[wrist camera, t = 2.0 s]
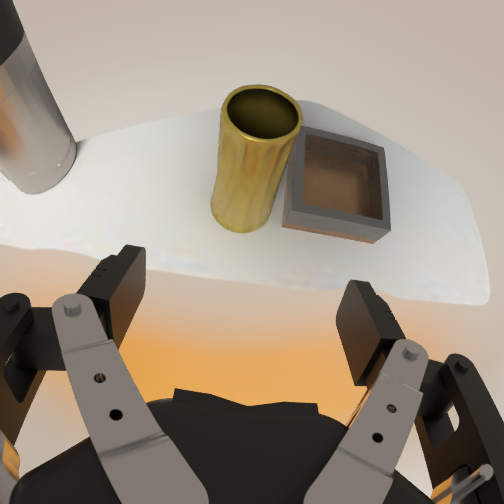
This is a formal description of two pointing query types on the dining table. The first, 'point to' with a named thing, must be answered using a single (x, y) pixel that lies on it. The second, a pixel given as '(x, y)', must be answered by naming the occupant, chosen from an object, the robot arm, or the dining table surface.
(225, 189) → the vase
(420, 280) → the dining table surface
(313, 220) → the square grey tray
